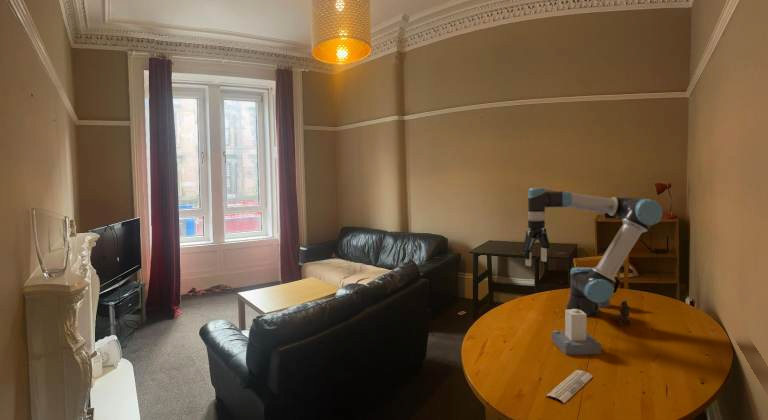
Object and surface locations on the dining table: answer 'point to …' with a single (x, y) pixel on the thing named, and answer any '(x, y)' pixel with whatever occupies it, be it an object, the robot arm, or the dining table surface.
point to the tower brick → (575, 324)
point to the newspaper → (570, 385)
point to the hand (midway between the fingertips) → (536, 263)
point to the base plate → (576, 344)
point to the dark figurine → (623, 314)
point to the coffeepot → (607, 303)
